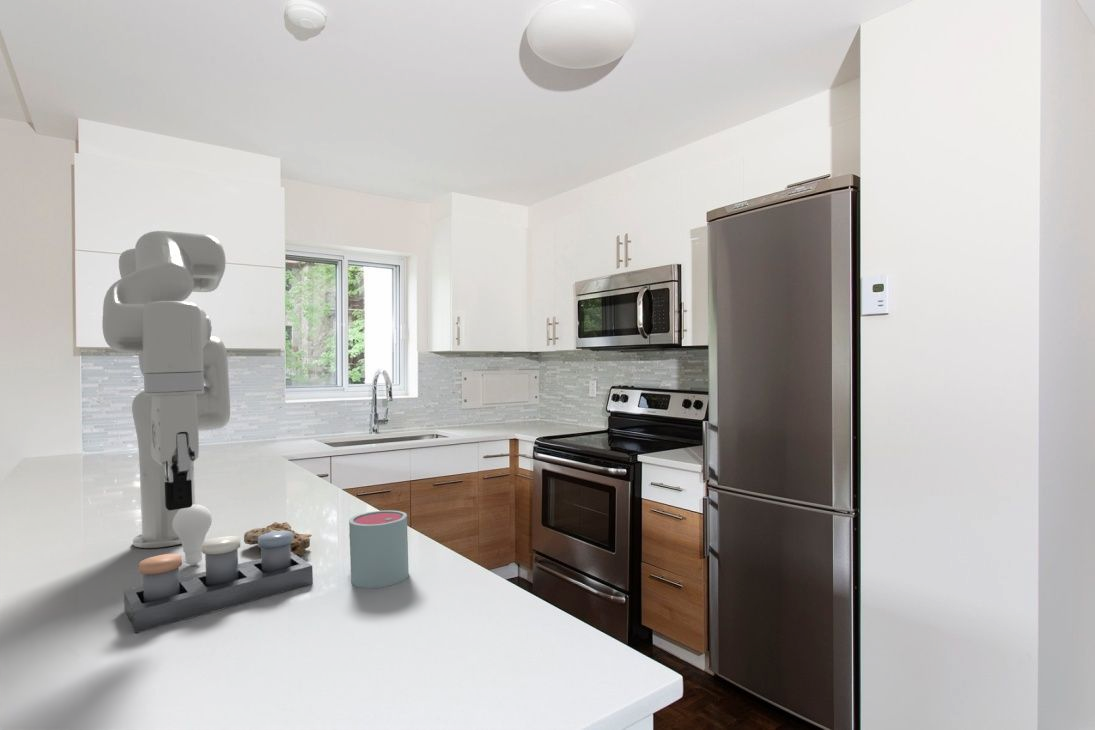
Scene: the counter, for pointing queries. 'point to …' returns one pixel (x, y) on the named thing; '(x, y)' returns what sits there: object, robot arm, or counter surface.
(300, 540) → the rock
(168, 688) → the counter surface
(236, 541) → the cream key
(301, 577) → the key panel
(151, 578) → the terracotta key
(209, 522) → the lightbulb
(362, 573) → the mug
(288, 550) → the light blue cylinder
